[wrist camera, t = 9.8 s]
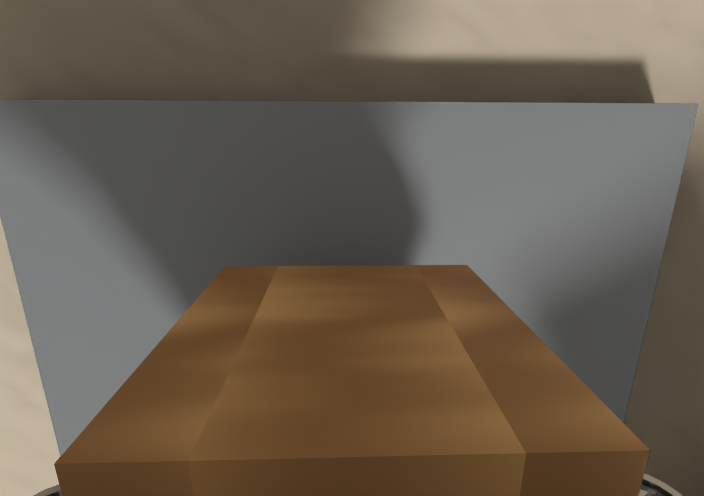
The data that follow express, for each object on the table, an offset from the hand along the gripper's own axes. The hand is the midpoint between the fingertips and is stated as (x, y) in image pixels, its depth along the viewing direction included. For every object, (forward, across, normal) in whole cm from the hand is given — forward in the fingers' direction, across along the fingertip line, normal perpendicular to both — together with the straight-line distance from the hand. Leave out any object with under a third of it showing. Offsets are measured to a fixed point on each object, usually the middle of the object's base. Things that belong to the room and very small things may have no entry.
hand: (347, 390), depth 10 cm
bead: (+1, 0, 0) cm, 1 cm away
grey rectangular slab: (+5, 0, 0) cm, 5 cm away
